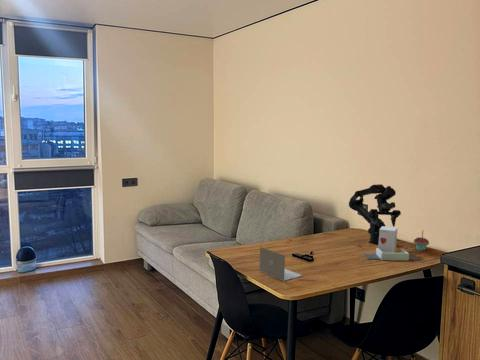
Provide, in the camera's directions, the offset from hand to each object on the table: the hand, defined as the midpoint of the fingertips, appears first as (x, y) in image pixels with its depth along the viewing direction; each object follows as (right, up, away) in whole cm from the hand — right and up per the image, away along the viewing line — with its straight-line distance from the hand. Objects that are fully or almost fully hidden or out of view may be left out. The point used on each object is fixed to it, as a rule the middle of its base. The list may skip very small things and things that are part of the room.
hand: (386, 226), depth 261 cm
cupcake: (+22, -14, +2) cm, 26 cm away
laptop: (-68, -19, -46) cm, 84 cm away
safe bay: (-2, -16, -16) cm, 22 cm away
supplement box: (-2, -15, -7) cm, 17 cm away
